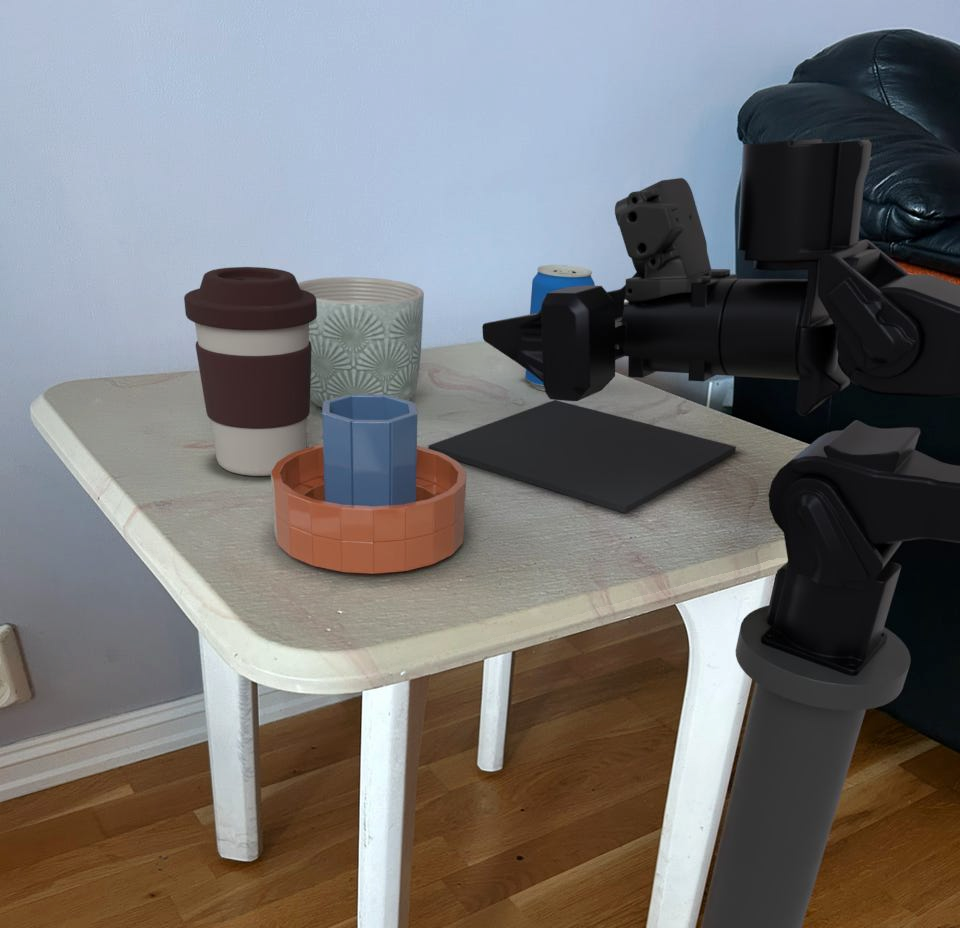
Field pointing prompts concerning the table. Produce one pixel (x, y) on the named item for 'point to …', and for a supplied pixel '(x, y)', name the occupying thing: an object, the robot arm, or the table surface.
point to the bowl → (368, 517)
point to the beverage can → (550, 281)
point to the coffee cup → (254, 363)
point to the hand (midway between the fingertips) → (519, 321)
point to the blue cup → (369, 450)
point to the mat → (586, 454)
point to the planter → (364, 337)
